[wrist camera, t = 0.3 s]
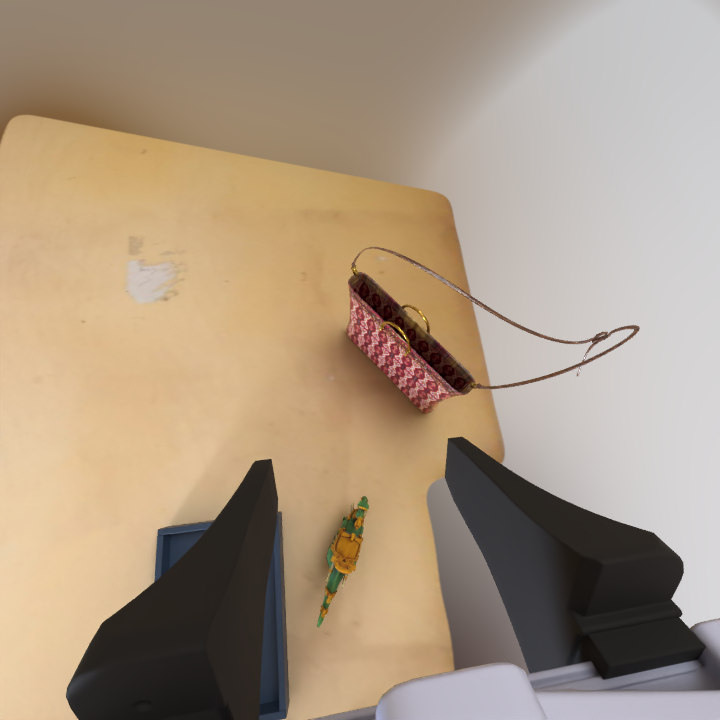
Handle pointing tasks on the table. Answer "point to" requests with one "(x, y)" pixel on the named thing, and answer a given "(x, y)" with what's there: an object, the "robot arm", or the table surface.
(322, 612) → the figurine
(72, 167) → the table surface
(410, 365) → the handbag
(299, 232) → the table surface
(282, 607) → the tray
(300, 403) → the table surface
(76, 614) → the table surface
